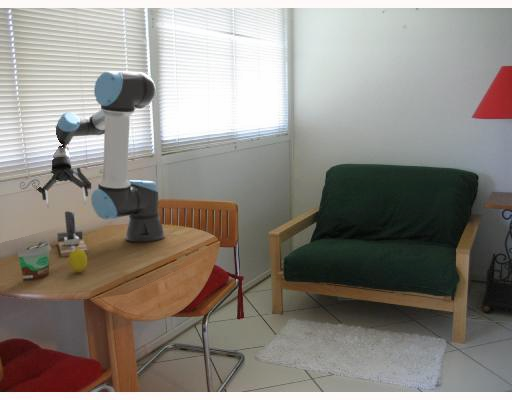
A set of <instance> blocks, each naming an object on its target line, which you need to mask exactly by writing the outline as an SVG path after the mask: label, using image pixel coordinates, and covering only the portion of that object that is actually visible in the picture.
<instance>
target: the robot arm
mask: <svg viewBox="0 0 512 400" xmlns="http://www.w3.org/2000/svg"><path fill="white" fill-rule="evenodd" d="M94 83H95V84H94V97H95V100H96V102H97V103H98V104H99V105H100V109H99V111H97V112H96V113H94V114H92V115H91V116H90V117H89V116H88V117H86V116H85V117H84V116H83V117H79V116H78V115H77V114H76V113H71V112H69V111H68V112H65V113H62V115H61V116H60V118H58V121H57V123H56V125H57V126H56V125H55V128H56V135H57V138H58V140H59V142H60V143H61V144H63V145H62V146H59V147H58V149H57V150H56V152H55V153H54V155H53V158H54V159H53V160H52V168H51V170H50V172H51V173H53V174H54V175H53V176H51V178H50V179H49V180H48V181H47V182H46V183H45V184H44V186H43V188H41V187H39V188H38V189H37V188H36V191H37V190H38V191H39V192H40V194H41V196H42V200H43V201H46V209H50V200H49V194H48V193H49V192H48V191H49V190H50V189H51V188H52V187H53V185H54V184H56V183H57V182H68V181H69V182H71V183H73V184H75V185H76V186H78V187H79V188H81V192H82V193H81V194H82V201H83V205H84V206H85V205H87V197H88V196H89V190H91V189H92V183H91V181H90V180H89V179H88V178H87V177H86V176H85V175H84V174H83V173H82V171H81V167H77V168H76V169H72V162H71V157H70V150H69V146H68V147H67V144H68V145H69V144H70V142H71V141H72V139H73V138H74V137H86V136H102V135H103V137H104V138H103V139H104V140H103V144H104V145H103V166H102V167H103V168H102V171H103V172H102V178H101V179H100V180H99V181H98V188H96V189H95V190H93V191H92V193H91V197H90V198H91V199H90V200H91V201H90V202H91V206H92V208H93V210H94V212H95V214H96V215H97V216H98V217H99V218H101V219H102V220H115V219H119V218H122V217H127V216H129V218H128V219H129V220H128V224H127V229H126V232H125V238H126V241H128V242H134V243H135V242H136V243H144V242H145V243H147V242H154V241H158V240H161V239H163V238H164V237H165V235H166V234H165V229H164V228H163V224H162V221H161V219H160V211H159V210H160V207H159V206H160V205H159V191H158V184H157V183H156V182H155V181H153V180H143V179H141V180H139V179H137V180H136V179H129V180H128V162H129V144H130V143H129V140H130V139H129V138H130V123H131V121H130V118H131V115H133V113H134V112H135V110H136V109H139V110H140V109H143V108H145V107H146V106H148V105H149V104H151V103H152V102H153V100H154V98H155V96H156V92H157V91H156V85H155V82H154V80H153V79H152V78H151V76H149V74H148V75H147V74H146V73H144V72H141V71H136V72H135V71H119V70H118V71H117V70H112V71H104V72H102V73H101V74H100V75H99V76H98V77H97V79H96V81H95V82H94ZM62 147H63V148H62ZM75 175H76V176H77V177H76V176H75ZM56 180H57V181H56Z"/></svg>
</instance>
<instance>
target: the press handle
mask: <svg viewBox="0 0 512 400" xmlns="http://www.w3.org/2000/svg"><path fill="white" fill-rule="evenodd" d="M64 218H65V232H67V237H64V243H65V246H66V245H75V244H80V242H79V237H78V236H76V231H77V230H76V220H75V219H76V218H75V212H74V210H67V211H64Z"/></svg>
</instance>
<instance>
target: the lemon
mask: <svg viewBox="0 0 512 400" xmlns="http://www.w3.org/2000/svg"><path fill="white" fill-rule="evenodd" d="M68 262H69V263H68V264H69V267H70V268H71V270H73V271H75V272H77V273H81V272H82V271H83V270H85V269H86V267H88V266H87V265H88V256H87V254H86V253H85V252H84V251H83V250H80V249H78V248H76V250H74V251H72V252H71V254H70V256H68Z"/></svg>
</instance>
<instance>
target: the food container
mask: <svg viewBox="0 0 512 400" xmlns="http://www.w3.org/2000/svg"><path fill="white" fill-rule="evenodd" d="M51 250H52V248H51V245H50V243H49V242H48V241H45V240H39V243H38V244H36V245H31V246H29V247H27V248H25V249H18V251H17V258H19V263H20V268H21V274H22V280H23V281H24V282H25V281H29V282H30V281H36V280H41V279H44V278H46V277H48V276H49V275H50V251H51Z"/></svg>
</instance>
